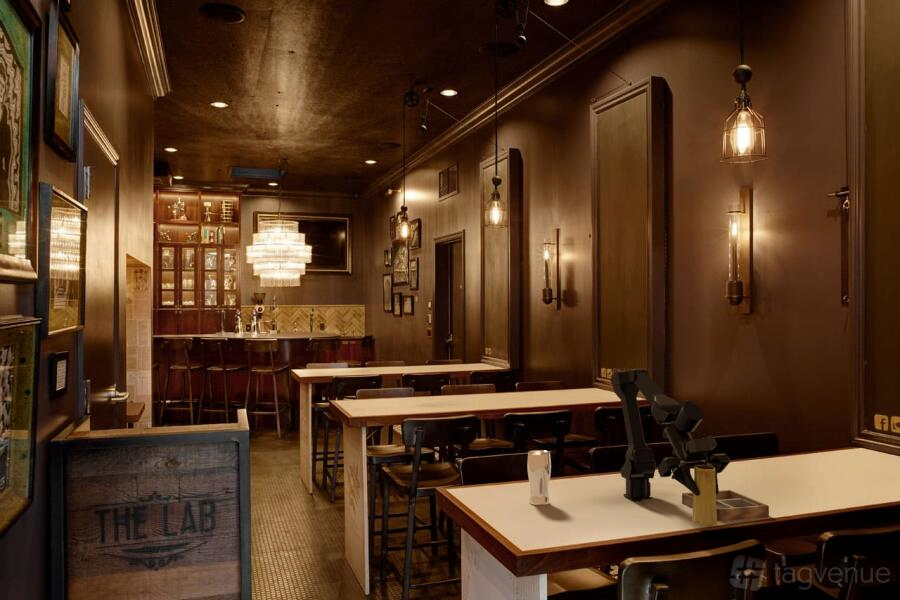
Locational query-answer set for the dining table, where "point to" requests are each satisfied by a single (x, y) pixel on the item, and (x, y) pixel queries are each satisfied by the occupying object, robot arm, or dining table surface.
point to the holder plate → (734, 503)
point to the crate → (735, 511)
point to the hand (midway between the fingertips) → (707, 494)
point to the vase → (705, 496)
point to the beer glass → (539, 476)
